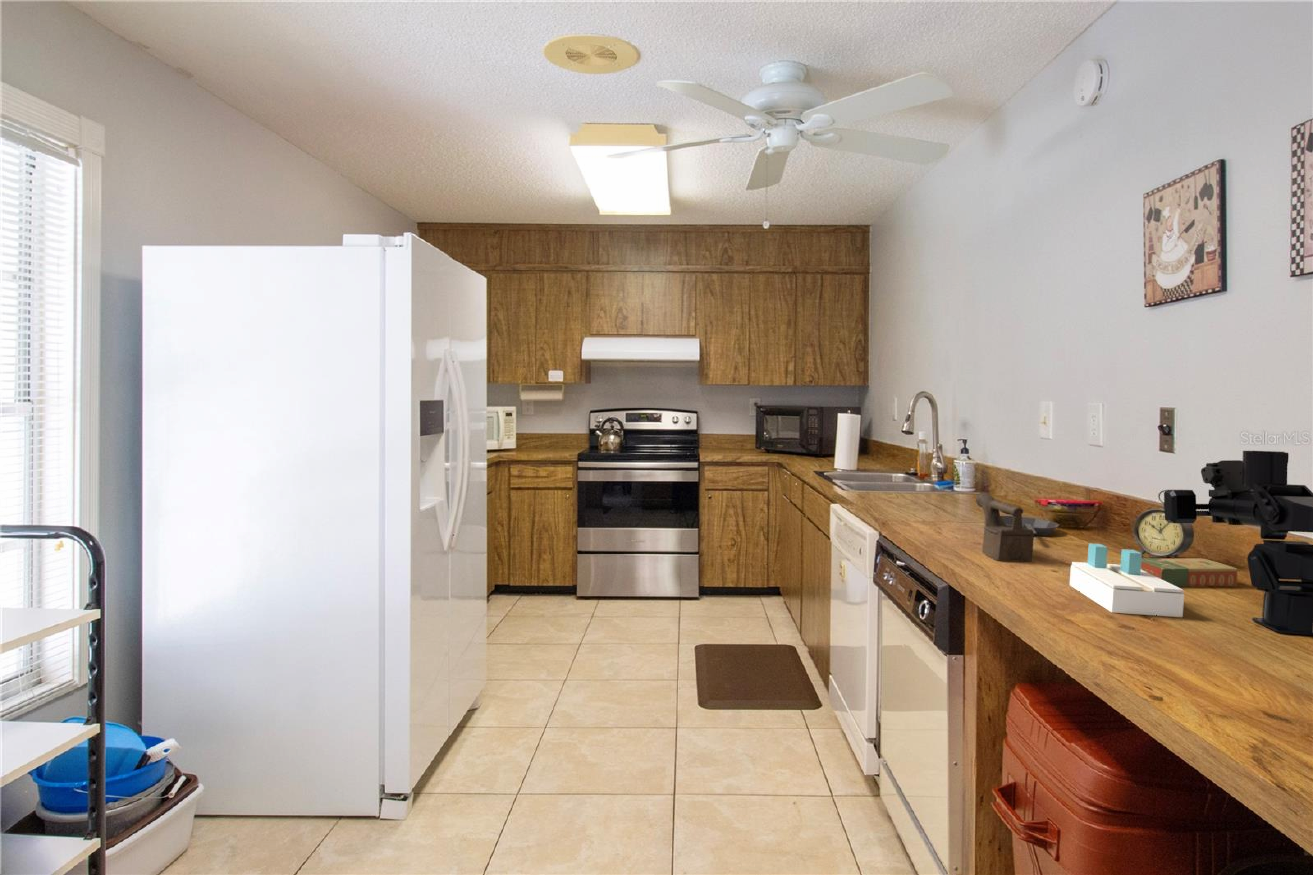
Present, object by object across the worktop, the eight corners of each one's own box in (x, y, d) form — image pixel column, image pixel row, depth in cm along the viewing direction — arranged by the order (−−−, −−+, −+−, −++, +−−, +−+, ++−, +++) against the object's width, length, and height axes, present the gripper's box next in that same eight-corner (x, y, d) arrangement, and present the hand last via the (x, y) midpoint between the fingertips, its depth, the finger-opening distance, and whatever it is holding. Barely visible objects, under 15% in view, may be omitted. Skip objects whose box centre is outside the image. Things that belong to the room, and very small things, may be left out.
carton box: (1182, 617, 118) (1184, 593, 118) (1111, 612, 120) (1113, 589, 119) (1130, 589, 135) (1132, 568, 134) (1069, 585, 136) (1070, 564, 136)
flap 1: (1071, 564, 136) (1073, 541, 136) (1096, 565, 135) (1098, 543, 135) (1113, 588, 119) (1115, 562, 119) (1142, 590, 119) (1144, 564, 118)
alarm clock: (1130, 555, 163) (1135, 487, 162) (1144, 553, 166) (1149, 486, 165) (1181, 567, 154) (1187, 494, 152) (1195, 564, 156) (1201, 493, 155)
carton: (1237, 589, 138) (1239, 568, 138) (1160, 588, 137) (1162, 567, 137) (1201, 577, 147) (1203, 557, 146) (1129, 576, 145) (1131, 556, 145)
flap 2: (1183, 592, 118) (1185, 566, 117) (1153, 590, 119) (1155, 564, 118) (1132, 567, 134) (1134, 544, 134) (1107, 566, 135) (1108, 543, 135)
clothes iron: (997, 546, 170) (1001, 492, 169) (1034, 563, 154) (1038, 503, 153) (965, 546, 170) (968, 491, 169) (999, 562, 154) (1002, 502, 153)
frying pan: (1053, 528, 196) (1054, 515, 196) (1075, 552, 167) (1076, 536, 166) (983, 522, 203) (984, 509, 203) (992, 544, 173) (993, 529, 173)
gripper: (1307, 462, 121) (1240, 461, 137) (1192, 463, 123) (1139, 462, 138) (1309, 526, 121) (1242, 518, 136) (1194, 527, 123) (1141, 518, 138)
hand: (1191, 503), depth 137 cm, fingers open, 9 cm apart
